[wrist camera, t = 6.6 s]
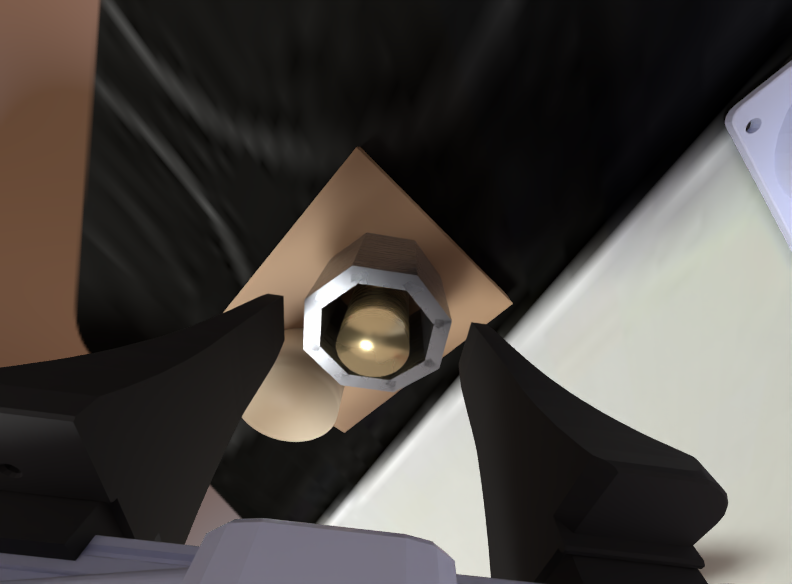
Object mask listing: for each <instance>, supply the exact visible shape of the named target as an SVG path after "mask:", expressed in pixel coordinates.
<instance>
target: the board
mask: <svg viewBox="0 0 792 584" xmlns="http://www.w3.org/2000/svg"><path fill="white" fill-rule="evenodd" d="M366 232H367V233H373V234H379V235H386V236H392V237H398V238H405V239H411V240H415V242H416V243H417V244H418V246H419V247H420V248H421V250H422V251H423V253H424V254H425V255H426V257H427V258H428V260H429V261H430V262H431V264H432V265H433V266H434V268H435V269H436V271H437V272H438V273H439V275H440V276H441V280H442V284H443V288H444V292H445V295H446V299H447V303H448V307H449V311H450V315H451V319H452V323H451V327H450V330H449V334H448V338H447V341H446V345H445V349H444V352H443V356H442V357H444V356H445V355H446V354H448V353H449V352H450V351H452V350H453V349H454V348H456V347H457V346H458V345H459V344H461V343H462V342H463V341H465V340H466V338H467V335H468V331H469V328H470V325H471V322H474V323H481V324H487V323H488V322H489V321H491V320H492V319H493V318H495V317H496V316H497V315H499V314H500V313H501V312H503V311H504V310H505V309H506V308H508V307H509V306H510V305H512V304H513V303H512V302H511V300H510V299H509V297H508V296H507V294H506V293H505V292H504V291H503V290H502V289H501V288H500V287H499V286H498V285H497V284H496V283H495V282H494V281H493V280H492V279H491V278H490V277H489V276H488V275H487V274H486V273H485V272H484V271H483V270H482V269H481V268H480V267H479V266H478V265H477V264H476V263H475V262H474V261H473V260H472V259H471V258H470V257H469V256H468V255H467V254H466V253H465V252H464V251H463V250H462V249H461V248H460V247H459V246H458V245H457V244H456V243H455V242H454V241H453V240H452V239H451V238H450V237H449V236H448V235H447V234H446V233H445V232H444V231H443V230H442V229H441V228H440V227H439V226H438V225H437V224H436V223H435V222H434V221H433V220H432V219H431V218H430V217H429V216H428V215H427V214H426V213H425V212H424V211H423V210H422V209H421V208H420V207H419V206H418V205H417V204H416V203H415V202H414V201H413V200H412V199H411V198H410V197H409V196H408V195H407V194H406V193H405V192H404V191H403V190H402V189H401V188H400V187H399V186H398V185H397V184H396V183H395V181H394V180H393V179H392V178H391V177H390V176H389V175H388V174H387V173H386V172H385V171H384V170H383V169H382V168H381V167H380V166H379V165H378V164H377V163H376V162H375V161H374V160H373V159H372V158H371V157H370V156H369V155H368V154H367V153H366V152H365V151H364V150H363V149H362V148H361V147H356V148H355V150H354V151H353V152H352V153H351V155H350V156H349V157H348V158H347V160H346V161H345V162H344V163H343V165H342V166H341V167H340V168H339V170H338V171H337V172H336V173H335V174H334V176H333V177H332V178H331V179H330V181H329V182H328V183H327V184H326V186H325V187H324V188H323V189H322V191H321V192H320V193H319V194H318V196H317V197H316V198H315V199H314V201H313V202H312V203H311V204H310V206H309V207H308V208H307V209H306V210H305V212H304V213H303V214H302V215H301V217H300V218H299V219H298V220H297V222H296V223H295V224H294V225H293V227H292V228H291V229H290V230H289V232H288V233H287V234H286V235H285V237H284V238H283V239H282V240H281V242H280V243H279V244H278V245H277V247H276V248H275V249H274V250H273V251H272V253H271V254H270V255H269V256H268V258H267V259H266V260H265V261H264V263H263V264H262V265H261V266H260V268H259V269H258V270H257V271H256V273H255V274H254V275H253V276H252V278H251V279H250V280H249V281H248V283H247V284H246V285H245V286H244V287H243V289H242V290H241V291H240V292H239V294H238V295H237V296H236V297H235V299H234V300H233V301H232V302H231V304H230V305H229V306H228V307H227V309H226V310H225V311H224V312H227V311H229V310H231V309H233V308H235V307H237V306H240V305H242V304H244V303H246V302H248V301H251V300H253V299H255V298H257V297H260V296H262V295H265V294H274V295H281V296H284V334H285V341H284V343H283V345H282V348H281V350H280V353H279V355H278V357H277V359H276V361H275V363H274V365H273V367H272V368H271V370H270V372H269V373H268V375H267V377H266V378H265V380H264V381H263V383H262V385H261V386H260V388H259V389H258V391H257V393H256V394H255V396H254V397H253V399H252V401H251V402H250V404H249V405H248V407H247V409H246V410H245V412H244V414H243V416H242V418H243V419H244V420H245V421H246V422H247V423H248V424H249V425H250V426H251V427H253V428H254V429H255V430H257V431H258V432H260V433H262V434H264V435H266V436H269V437H272V438H275V439H278V440H283V441H291V442H301V441H308V440H312V439H315V438H318V437H320V436H322V435H324V434H325V433H327V432H328V431H329V430H330V429H331V428H332V426H335V427H336V428H338V429H339V430H341V431H342V432H344V433H345V432H346V431H347V430H348V429H350V428H351V427H352V426H354V425H355V424H356V423H358V422H359V421H360V420H362V419H363V418H364V417H365V416H367V415H368V414H369V413H371V412H372V411H373V410H375V409H376V408H377V407H379V406H380V405H381V404H382V403H384V402H385V401H386V400H388V399H389V398H390V397H392V396H393V395H394V394H395V393H397V392H398V391H399V390H401V389H402V388H401V389H399V390H397V391H396V392H387V391H380V390H373V389H365V388H358V387H351V386H344V385H340V384H339V383H338V382H337V381H336V380H335V379H334V378H333V377H332V376H331V375H330V374H329V373H328V372H327V371H326V370H324V369H323V368H322V367H321V366H320V365H319V364H318V363H317V362H316V361H315V360H314V359H313V358H312V357H311V356H310V355H309V354H308V353H307V352H306V351H305V350H304V349H303V347H304V302H305V298H306V296H307V295H308V293H309V292H310V290H311V289H312V287H313V285H314V284H315V282H316V281H317V279H318V278H319V276H320V274H321V273H322V271H323V270H324V268H325V267H326V265H327V263H328V262H329V260H330V259H331V258H333V257H334V256H335V255H337V254H338V253H339V252H341V251H342V250H343V249H345V248H346V247H347V246H349V245H350V244H352V243H353V242H354V241H356V240H357V239H358V238H360V237H361V236H362V235H364V234H365V233H366ZM354 288H355V286H353V287H352V288H350V289H349V290H347V291H346V292H345V293H343V294H342V295H340V297H341V299H342V300H343V301H344V302H345V303H346V304H347V305H349V302H350V300H351V297H352V294H353V291H354ZM420 309H421V308H420V307H419V305H418V304H417V303H416V302H415V300H414V299H413V298H412V296H411V295H410V294H409V316H410V315H412V314H413V313H415V312H416V311H418V310H420ZM224 312H223V313H224Z"/></svg>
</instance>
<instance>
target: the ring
mask: <svg viewBox="0 0 792 584" xmlns="http://www.w3.org/2000/svg"><path fill="white" fill-rule="evenodd" d="M358 283H360V284H366V285H373V286H380V287H386V288H393V289H399V290H406V291H408V293H409V294H410V295H411V296H412V298H413V299H414V300H415V302H416V303H417V304H418V305H419V307H420V308H421V309H420V310H418V311H416V312H415V313H413V314H412V315H410V316H409V341H410V350H409V356H408V358H407V360H406V362H405V364H404V365H403V366H402V367H401V368H400V369H399V370H397V371H396V372H394V373H392V374H389V375H386V376H381V377H369V376H364V375H360V374H358V373H355V372H353V371H352V370H350V369H349V368H348V367H346V366H345V365H344V364H343V362H342V361H341V360H340V358H339V356H338V354H337V350H336V340H337V337H338V334H339V331H340V328H341V325H342V323H343V320H344V317H345V314H346V311H347V308H348V305H347V304H346V303H345V302H344V301H343V300H342V299H341V297H340V295H342V294H343V293H345V292H346V291H347V290H349V289H350V288H352V287H353V286H355V285H356V284H358ZM451 323H452V319H451V315H450V311H449V307H448V303H447V299H446V295H445V292H444V288H443V284H442V280H441V276H440V275H439V273H438V272H437V271H436V269H435V268H434V266H433V265H432V264H431V262H430V261H429V260H428V258H427V257H426V255H425V254H424V253H423V251H422V250H421V248H420V247H419V246H418V244H417V243H416V242H415V240H411V239H405V238H398V237H392V236H386V235H379V234H373V233H367V232H366V233H365V234H364V235H362V236H361V237H360V238H358V239H357V240H356V241H354V242H353V243H352V244H350V245H349V246H347V247H346V248H345V249H343V250H342V251H341V252H339V253H338V254H337V255H335V256H334V257H333V258H331V259H330V260H329V262H328V263H327V265H326V267H325V268H324V270H323V271H322V273H321V274H320V276H319V278H318V279H317V281H316V282H315V284H314V285H313V287H312V289H311V290H310V292H309V293H308V295H307V296H306V298H305V302H304V347H303V349H304V350H305V351H306V352H307V353H308V354H309V355H310V356H311V357H312V358H313V359H314V360H315V361H316V362H317V363H318V364H319V365H320V366H321V367H322V368H323V369H324V370H326V371H327V372H328V373H329V374H330V375H331V376H332V377H333V378H334V379H335V380H336V381H337V382H338V383H339V384H340V385H344V386H351V387H358V388H365V389H373V390H380V391H387V392H396V391H397V390H399V389H401V388H403V387H405V386H407V385H409V384H411V383H412V382H414V381H416V380H418V379H420V378H422V377H424V376H426V375H428V374H429V373H431V372H433V371H435V370H437V369H439V367H440V363H441V359H442V356H443V352H444V349H445V345H446V341H447V338H448V334H449V330H450V327H451Z"/></svg>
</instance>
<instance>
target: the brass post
mask: <svg viewBox="0 0 792 584" xmlns="http://www.w3.org/2000/svg"><path fill="white" fill-rule="evenodd" d="M336 350H337V354H338V356H339V358H340V360H341V361H342V362H343V364H344V365H345V366H346V367H348V368H349V369H350V370H352V371H353V372H355V373H358V374H360V375H364V376H369V377H381V376H386V375H389V374H392V373H394V372H396V371H397V370H399V369H400V368H401V367H402V366H403V365H404V364H405V362H406V360H407V358H408V356H409V350H410V341H409V293H408V291H406V290H399V289H393V288H386V287H380V286H373V285H366V284H360V283H358V284H356V285H355V288H354V291H353V294H352V297H351V300H350V302H349V305H348V308H347V311H346V314H345V317H344V320H343V323H342V325H341V328H340V331H339V334H338V337H337V340H336Z"/></svg>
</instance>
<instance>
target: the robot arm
mask: <svg viewBox="0 0 792 584" xmlns="http://www.w3.org/2000/svg"><path fill="white" fill-rule="evenodd" d="M750 121H751V125H750V128H749V129H748V130H747V131H746V126H747V124H748V123H749V122H750ZM725 126H726V128H727V130H728V132H729V134H730V136H731V138H732V140H733V142H734V143H735V145H736V147H737V149H738V151H739V153H740V155H741V157H742V159H743V160H744V162H745V164H746V166H747V168H748V170H749V172H750V174H751V176H752V177H753V179H754V181H755V183H756V185H757V187H758V189H759V191H760V193H761V194H762V196H763V198H764V200H765V202H766V204H767V206H768V208H769V209H770V211H771V213H772V215H773V217H774V219H775V221H776V223H777V225H778V226H779V228H780V230H781V232H782V234H783V236H784V238H785V240H786V242H787V243H788V245H789V247H790V249H791V251H792V60H791V61H790V62H789V63H787V64H786V65H785V66H784V67H782V68H781V69H780V70H779V71H777V72H776V73H775V74H774V75H772V76H771V77H770V78H768V79H767V80H766V81H765V82H763V83H762V84H761V85H760V86H758V87H757V88H756V89H755V90H753V91H752V92H751V93H750V94H748V95H747V96H746V97H745V98H743V99H742V100H741V101H740V102H738V103H737V104H736V105H735V106H733V107H732V109H731V110H730V111H729V112H728V114H727V116H726V119H725ZM284 341H285V334H284V296H281V295H274V294H265V295H262V296H260V297H257V298H255V299H253V300H251V301H248V302H246V303H244V304H242V305H240V306H237V307H235V308H233V309H231V310H229V311H227V312H224V313H222V314H220V315H217V316H215V317H212V318H210V319H208V320H205V321H203V322H200V323H198V324H195V325H193V326H190V327H187V328H185V329H182V330H179V331H176V332H173V333H170V334H166V335H163V336H160V337H157V338H153V339H150V340H146V341H142V342H138V343H134V344H130V345H127V346H123V347H119V348H115V349H110V350H105V351H101V352H96V353H91V354H86V355H80V356H75V357H70V358H64V359H58V360H52V361H44V362H37V363H30V364H23V365H17V366H9V367H1V368H0V584H708V583H707V581H706V580H705V579H704V577H703V576H702V574H701V573H700V571H699V570H698V569H702V568H703V567H704V566H705V564H704V560H703V559H702V557H701V556H700V555H699V553H698V552H697V550H696V549H695V547H694V546H693V545H694V544H695V543H696V542H697V541H698V540H699V539H701V538H702V537H703V536H704V535H705V534H706V533H707V532H708V531H709V530H710V529H712V528H713V527H714V526H715V525H716V524H717V523H718V522H719V521H720V520H721V518H722V517H723V516H724V514H725V512H726V509H727V506H728V499H727V493H726V492H725V491H724V490H723V488H722V487H721V486H720V485H719V484H718V483H717V482H716V480H715V479H714V478H713V477H712V476H711V475H710V474H709V473H708V471H707V470H706V469H705V468H704V467H703V466H702V465H701V464H700V462H699V461H698V460H697V459H696V458H694V457H693V456H691V455H688V454H686V453H684V452H682V451H679V450H677V449H675V448H673V447H671V446H668V445H666V444H664V443H662V442H659V441H657V440H655V439H653V438H651V437H648V436H646V435H644V434H642V433H640V432H638V431H636V430H634V429H632V428H630V427H629V426H627V425H625V424H623V423H621V422H619V421H617V420H615V419H613V418H611V417H610V416H608V415H606V414H604V413H602V412H601V411H599V410H597V409H596V408H594V407H592V406H591V405H589V404H587V403H586V402H584V401H582V400H581V399H579V398H578V397H576V396H575V395H573V394H571V393H570V392H569V391H567V390H566V389H564V388H563V387H561V386H560V385H559V384H557V383H556V382H554V381H553V380H551V379H550V378H549V377H547V376H546V375H545V374H544V373H542V372H541V371H540V370H539V369H537V368H536V367H535V366H534V365H532V364H531V363H530V362H529V361H528V360H527V359H525V358H524V357H523V356H522V355H521V354H520V353H519V352H517V351H516V350H515V349H514V348H513V347H512V346H511V345H510V344H509V343H508V342H506V341H505V340H504V339H503V338H502V337H501V336H500V335H499V334H498V333H497V332H496V331H494V330H493V329H492V328H491V327H490V326H488V325H487V324H481V323H474V322H471V325H470V328H469V331H468V335H467V338H466V341H465V345H464V348H463V351H462V355H461V358H460V361H459V372H460V381H461V388H462V393H463V397H464V401H465V405H466V409H467V413H468V417H469V421H470V424H471V428H472V432H473V436H474V440H475V445H476V450H477V455H478V462H479V469H480V476H481V483H482V491H483V499H484V507H485V517H486V526H487V536H488V546H489V558H490V571H491V578H487V577H478V576H469V575H459V574H456V569H455V561H454V560H453V559H452V558H451V557H450V556H449V555H448V554H447V553H446V552H444V551H443V550H442V549H441V548H440V547H438V546H437V545H436V544H435V543H433V542H432V541H429V540H425V539H421V538H418V537H414V536H410V535H406V534H399V533H391V532H382V531H373V530H364V529H355V528H346V527H337V526H329V525H320V524H311V523H302V522H293V521H284V520H275V519H266V518H257V519H235V520H233V521H231V522H228V523H227V524H224V525H222V526H220V527H218V528H216V529H214V530H212V531H210V532H208V533H206V535H205V537H204V539H203V541H202V544H201V545H200V546H191V545H185V542H186V540H187V537H188V535H189V532H190V530H191V527H192V525H193V522H194V520H195V517H196V515H197V513H198V510H199V508H200V506H201V503H202V501H203V499H204V496H205V494H206V492H207V489H208V487H209V485H210V482H211V480H212V478H213V476H214V473H215V471H216V469H217V467H218V465H219V462H220V460H221V458H222V456H223V454H224V452H225V449H226V447H227V445H228V443H229V441H230V439H231V437H232V435H233V433H234V431H235V429H236V427H237V425H238V423H239V421H240V419H241V417H242V416H243V414H244V412H245V410H246V409H247V407H248V405H249V404H250V402H251V401H252V399H253V397H254V396H255V394H256V393H257V391H258V389H259V388H260V386H261V385H262V383H263V381H264V380H265V378H266V377H267V375H268V373H269V372H270V370H271V368H272V367H273V365H274V363H275V361H276V359H277V357H278V355H279V353H280V350H281V348H282V345H283V343H284Z"/></svg>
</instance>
